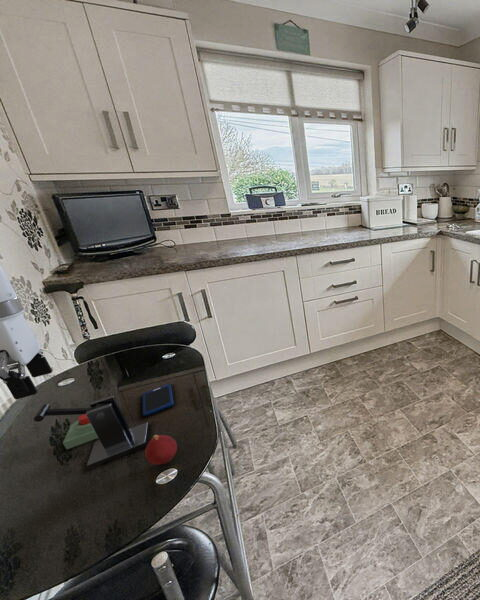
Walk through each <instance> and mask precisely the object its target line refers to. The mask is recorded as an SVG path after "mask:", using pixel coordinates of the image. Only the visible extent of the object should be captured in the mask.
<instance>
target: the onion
mask: <svg viewBox="0 0 480 600" xmlns="http://www.w3.org/2000/svg"><path fill="white" fill-rule="evenodd" d="M177 451H178V444H177V441H176V440H175V439H174V438H173V437H172V436H170V435H165V434H159V435H158V434H155V435H153V436H152V438H151V440H150V441H149V442H147V446H146V447H145V450H144V456H145V459H146V461H147V462H148V463H150V464H152V465H154V466H155V465H160V466H161V465H166V464H169V463H170V462H171V461H172V459H173V458H174V457H175V456H176V454H177Z"/></svg>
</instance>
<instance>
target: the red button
mask: <svg viewBox="0 0 480 600" xmlns="http://www.w3.org/2000/svg"><path fill="white" fill-rule="evenodd" d="M77 420H78V421H79V423H80V424H81V425H85V424H88V423H90V421H89V419H88V417H87V416H86V414H80V415H79V416H78V418H77Z"/></svg>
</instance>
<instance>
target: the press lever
mask: <svg viewBox="0 0 480 600" xmlns="http://www.w3.org/2000/svg"><path fill="white" fill-rule="evenodd" d="M108 404H111V405H112V403H106V404H97V405H96V408H99V407H102V406H105V405H108ZM51 407H52V405H51V404H50V403H44V404H42V405H41V407H40V408H39V410H38V411H37V413H36V414H35V416H34V417H33V421H34V422H37V423H38V422H42V421H43V420H45V417H47V416H71V415H82V414H86V412H87V411H90V410H93V409H96V408H91V407H73V408H72V407H71V408H70V407H69V408H51Z"/></svg>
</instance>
